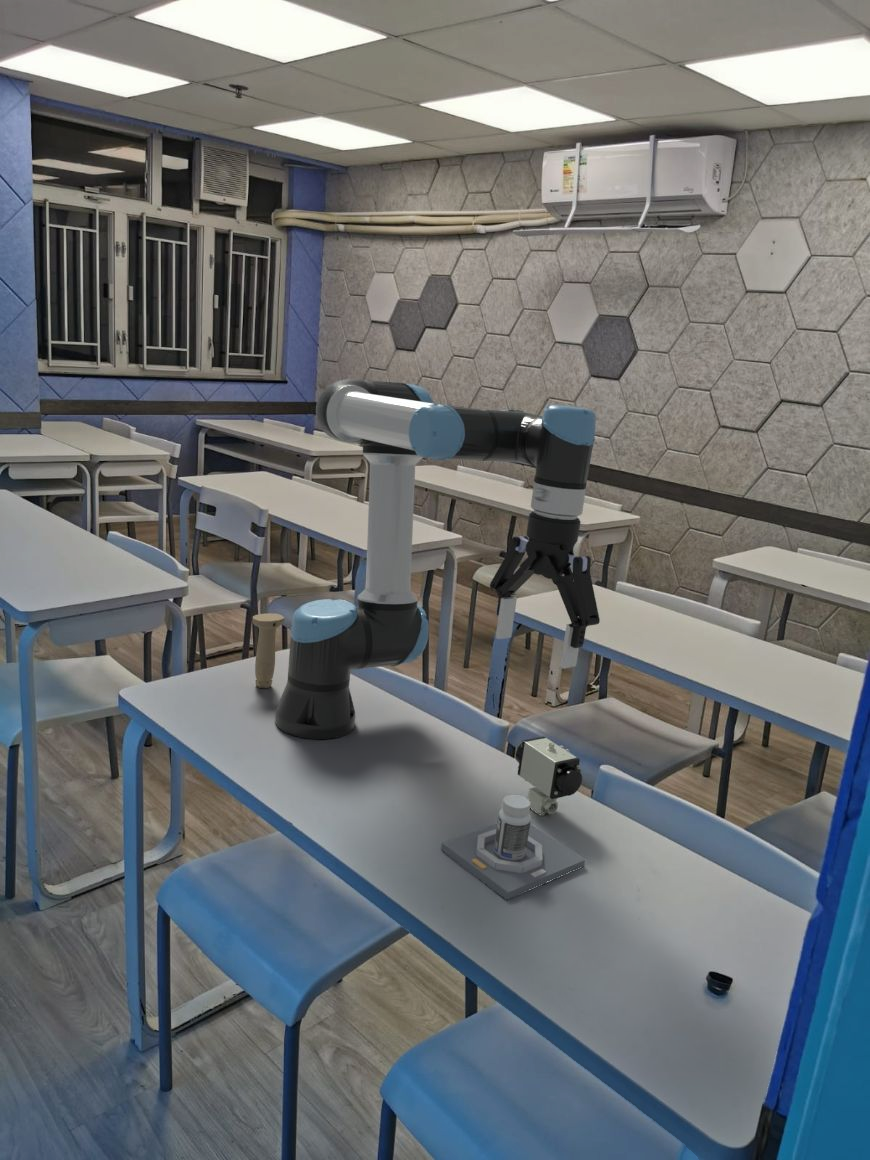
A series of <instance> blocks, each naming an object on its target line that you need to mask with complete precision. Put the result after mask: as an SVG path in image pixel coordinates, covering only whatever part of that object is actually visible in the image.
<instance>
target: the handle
mask: <svg viewBox="0 0 870 1160" xmlns="http://www.w3.org/2000/svg"><path fill="white" fill-rule="evenodd" d="M284 622H285V616H283V615H282V614H280V613H271V612H269V613H259V614H255V615H253V616H252V624H253V625H254V626H255V627H258V639H257V648H256V654H255V665H254V666H255V667H254V671H255V686H256V687H258V688H259V689H268V688H270V687H271V686H272V685H273V678H274V673H275V667H276V636H277V635H276V634H277V633H276V632H277V628H279V627H280V626H282V625H283V624H284Z"/></svg>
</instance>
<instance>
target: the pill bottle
mask: <svg viewBox="0 0 870 1160" xmlns="http://www.w3.org/2000/svg"><path fill="white" fill-rule="evenodd" d="M530 811H531V809H530V801H529V799H528V797H525V796H523V795H519V794H508V795H506V796H504V797H503V799H502V805H501V808H500V810H499V812H498V816H497V823H496V824H497V830H496V837H495V843H494V852H495V853H496V854H497V855H498V856H499V857H501V858H503V859H505V860H510V861H516V860H520V859H522V858H523V857H524V856H525V854H526V848H527V841H528V835H529V828H530V824H531V819H532V816H531V814H530Z"/></svg>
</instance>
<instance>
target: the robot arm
mask: <svg viewBox="0 0 870 1160" xmlns="http://www.w3.org/2000/svg"><path fill="white" fill-rule="evenodd" d="M315 417H316V420H317V423H318V426H319V427H320V429H321V430H322V432H324V434H326V435H327V436H328V437H330V438H332V439H334V440H336V441H339V442H343V443H347V444H356V445H357V444H358V445H362V456H363V457H364V458H365V459H366V461H368V463H369V484H368V485H369V486H368V488H369V489H368V511H367V512H368V514H367V515H368V517H367V539H366V541H367V545H366V547H367V548H366V568H365V569H366V572H365V573H366V575H365V579H366V580H365V588H364V590H362V591H361V592H360V593H359V594H358V595H357V605H355V604H353V603H352V602H350V601H347V600H345V599H344V600H343V599H332V598H329V599H327V598H326V599H325V598H324V599H316V600H312V601H309V602H306V603H304V604H302V605H300V606H299V607H298V608H297V609H296V610H295V611H294V613H293V616H292V622H291V628H290V631H289V635H290V641H289V642H290V643H289V655H288V670H287V671H288V672H287V682H286V686H285V687H284V688H283V689H284V690H283V692H282V694H281V696H280V699H279V701H278V704H277V705H276V708H275V714H274V715H275V717H274V723H275V725H276V726H277V727H278V728H279V730H281V731H282V732H285V733H287V734H289V735H291V736H294V737H298V738H303V739H311V740H312V739H313V740H328V739H335V738H340V737H343V736H346V735H347V734H350V732H352V731H353V730H354V728H355V725H356V711H355V707H354V702H353V697H352V694H351V689H350V681H351V671H353V670H362V669H371V668H380V667H381V668H382V667H388V666H389V667H397V666H401V665H405V664H409V663H414V662H415V661H416V660H417V659H418V658H419V657H420V656H421V655H422V654H423V653H424V650H425V648H426V647H427V643H428V638H429V631H430V630H429V627H430V626H429V620H428V619H427V614H426V611H425V610H424V609H423V608H422V606H420V605H419V604H418V597H417V596H416V594H414V593H413V591H412V590H411V578H412V577H411V576H412V553H413V551H412V549H413V531H414V528H413V527H414V508H415V507H414V506H415V505H414V504H415V483H416V482H415V480H416V466H417V464H418V463H419V462H420V461H421V460H422V459H423V458H426V459H431V460H437V461H446V460H449V461H450V460H451V461H452V460H455V461H456V460H457V461H458V460H459V461H461V460H462V461H477V462H478V461H479V462H480V461H482V462H497V463H498V462H502V463H517V464H523V465H528V466H532V467H535V475H534V479H533V487H532V495H531V501H530V508H531V509H532V511H531V512H530V513H529V514H528V521H527V526H526V527H527V528H526V535H523V536H513V537H512V538H511V541H510V546H509V550H508V552H507V553H506V555H505V557H504V559H503V561H502V562H501V564H500V566H499V567H498V569H497V571H496V573H495V574H494V576H493V578H492V580H491V581H490V584H489V587H490V589H491V590H494V591H495V592H496V594H497V596H498V599H497V600H498V601H497V607H496V616H498V618H497V619H498V620H497V623H496V624H497V625H496V634H495V639H497V640H504V639H510V638H512V634H513V627H514V622H515V621H514V620H515V614H516V607H517V597H516V596H515V595H517V594H516V592H517V591H518V590H519V589H520V588H521V587H523V585H524V584H525V583H526V582H527V581H528V580H529V579H530V578H531V577H532V576H533V575H538V576H539V575H541V576H543V577H544V578H546V579H549V580H551V581H552V584H554V585H555V586H556V588H557V590H558V592H559V595H560V597H561V600H562V602H563V604H564V608H565V610H566V612H567V615H568V617H569V621H570V623H568V624H567V623H566V627H565V631H564V632H565V633H564V638H563V645H562V650H561V658H560V664H559V668H561V669H563V670H564V669H570V668H574V667H576V666H577V663H578V656H579V649H580V648H582V647H583V645H584V642H585V637H586V636H585V635H586V631H587V627H589V626H595V625H598V624H600V622H601V621H600V615H599V610H598V605H597V601H596V596H595V595H596V594H595V591H594V587H593V586H594V584H593V580H592V575H591V565H592V563H591V562H592V561H591V560H592V559H591V557H590V556H589V555H583V556H581V555H580V556H579V555H575V553H574V547H575V545H576V544H577V542H578V541H579V540H578V539H579V534H580V527H581V523H582V522H581V520H580V518H579V516H581V515H582V514H583V511H584V503H585V498H586V497H585V495H586V491H587V490H586V489H587V483H588V477H589V470H590V465H591V459H592V454H593V453H592V452H593V446H594V444H595V441H596V438H595V433H596V422H597V416H596V413H595V411H593V410H592V409H590V408H584V407H577V406H571V405H565V404H564V405H563V404H562V405H561V404H548V405H546V406H545V408H544V410H543V415H539V414H533V413H530V412H529V413H528V412H525V411H523V410H519V409H500V410H499V409H497V410H496V409H484V408H473V407H462V406H454V405H453V406H452V405H447V404H438V403H435V401H434V399H433V397H431V395H430V392H429V391H428V390H426V389H425V388H424V387H422V386H419V385H414V384H410V383H406V382H404V383H403V382H393V381H392V382H390V381H381V380H380V381H379V380H378V381H377V380H370V379H369V380H367V379H359V378H347V379H341V380H338V381H335V382H333V383H331V384H330V385H328V386H327V387H325V388H324V389H323V391H322V392H321V393H320V394H319V396H318V399H317V400H316V406H315ZM525 554H526V555H527V558H526V559H524V560H523V558H524V556H525ZM522 560H523V562H522ZM518 566H519V568H518ZM356 606H357V607H356Z"/></svg>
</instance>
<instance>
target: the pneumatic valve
mask: <svg viewBox="0 0 870 1160" xmlns="http://www.w3.org/2000/svg"><path fill="white" fill-rule="evenodd" d="M515 760H516V762H517V763H518V766H517V775H518V776H519V777H521V778H522V779H523V780H525V781H526V782H528V783H529V784H531V785H532V787H530V788H529V790H528V792H527V799H528V800H529V801H530V808H532V809H533V810H534V811H536V812H537V813H538V814H541V815H546V814H545V813H548V814H547V815H554V814H555V813H556V812H557V811H558V808H559V804H558V802H557V800H558V799H560V798H564V797H569V796H572V795H574V794H576V793H577V791H578V790H579V789H580V787H581V785H582V783H583V782H582V781H583V775H582V772H581V769H580V761H581V759H580V758H578V757H577V756H575V755H574V754H572V753H571V752H570V750H569V749H568V748H565V747H564V746H563V745H558V744H557V743H555V742H553V741H552V740H550V739H548V738H547V737H545V736H540V737H533V738H529V739H524V740H522V741H521V743H520V744H519V745H518V747H517V749H516V751H515ZM532 809H531V810H532ZM533 810H532V811H533ZM534 811H533V812H534ZM536 812H535V813H536ZM537 813H536V814H537Z"/></svg>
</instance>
